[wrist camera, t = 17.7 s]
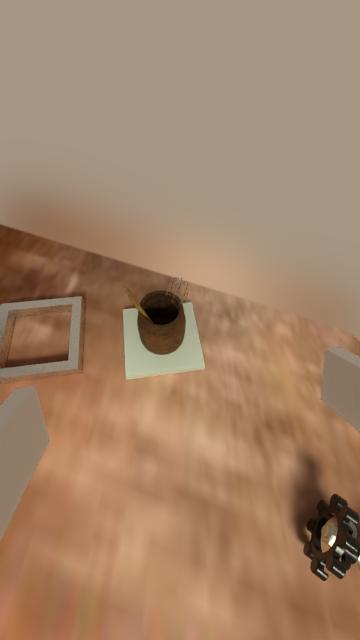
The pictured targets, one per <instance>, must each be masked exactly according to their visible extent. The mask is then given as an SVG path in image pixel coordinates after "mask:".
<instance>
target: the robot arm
mask: <svg viewBox="0 0 360 640" xmlns="http://www.w3.org/2000/svg"><path fill="white" fill-rule="evenodd" d="M321 400H322V401H323V402H324V403H326V404H327V405H328V406H329V407H330V408H332V409H333V410H334V411H335V412H336V413H337V414H339V415H340V416H341V417H342V418H343V419H345V420H346V421H347V422H348V423H349V424H351V425H352V426H353V427H354V428H355V429H356V430H358V431H359V432H360V357H359V356H357V355H355V354H353V353H351V352H349V351H347V350H345V349H343V348H341V347H335V348H328V349H325V357H324V368H323V378H322V388H321ZM49 441H50V440H49V436H48V432H47V429H46V425H45V421H44V417H43V413H42V409H41V405H40V401H39V398H38V394H37V390H36V386H32V387H24V388H16V389H15V390H14V391H13V392H12V393H11V395H10V396H9V397H8V398H7V399H6V400H5V401H4V402H3V403H2V404H1V405H0V541H1V539H2V537H3V535H4V533H5V530H6V528H7V526H8V524H9V522H10V520H11V518H12V516H13V514H14V512H15V510H16V508H17V506H18V504H19V502H20V500H21V498H22V496H23V494H24V492H25V490H26V488H27V486H28V484H29V482H30V480H31V477H32V475H33V473H34V471H35V469H36V467H37V465H38V463H39V461H40V459H41V457H42V455H43V453H44V451H45V449H46V447H47V445H48V443H49Z"/></svg>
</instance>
